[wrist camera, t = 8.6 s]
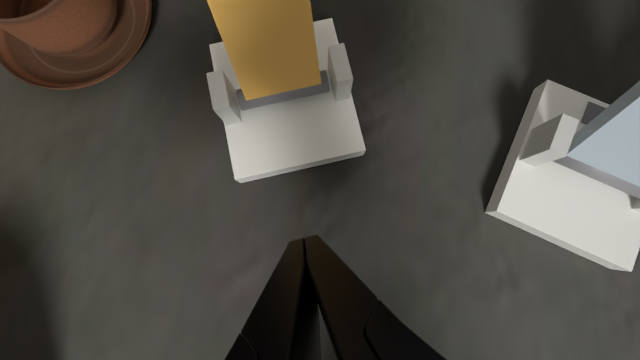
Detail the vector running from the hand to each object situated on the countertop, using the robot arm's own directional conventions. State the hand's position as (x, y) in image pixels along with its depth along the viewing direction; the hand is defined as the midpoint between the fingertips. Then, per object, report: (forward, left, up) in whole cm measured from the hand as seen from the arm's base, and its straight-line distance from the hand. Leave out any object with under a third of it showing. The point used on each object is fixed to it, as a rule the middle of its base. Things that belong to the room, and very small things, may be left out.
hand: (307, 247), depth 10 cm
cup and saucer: (+24, 0, -14) cm, 28 cm away
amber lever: (+8, -6, -11) cm, 15 cm away
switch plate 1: (+8, -6, -14) cm, 17 cm away
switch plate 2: (-10, -15, -14) cm, 23 cm away
